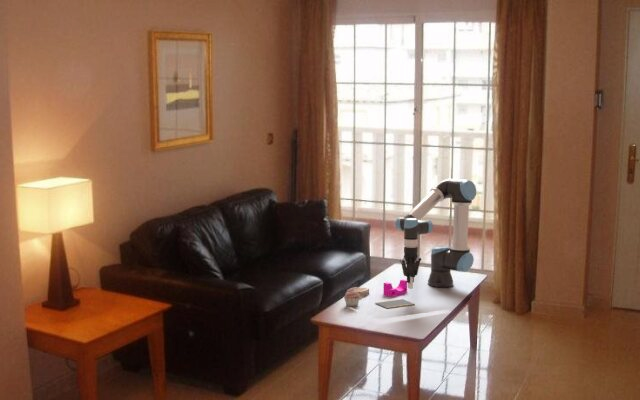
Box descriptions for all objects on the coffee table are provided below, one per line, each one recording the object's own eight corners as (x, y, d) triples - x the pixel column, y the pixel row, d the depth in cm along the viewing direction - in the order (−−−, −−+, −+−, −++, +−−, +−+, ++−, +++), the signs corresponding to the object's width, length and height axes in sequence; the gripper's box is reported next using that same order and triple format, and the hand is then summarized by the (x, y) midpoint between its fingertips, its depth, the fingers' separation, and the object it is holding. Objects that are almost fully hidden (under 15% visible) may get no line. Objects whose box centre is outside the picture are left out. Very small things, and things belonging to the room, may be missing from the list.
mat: (402, 300, 440) (402, 299, 440) (414, 304, 429) (414, 303, 429) (375, 303, 431) (375, 302, 431) (386, 308, 421) (386, 307, 421)
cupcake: (357, 308, 422) (357, 290, 421) (341, 306, 425) (341, 288, 424) (362, 304, 431) (362, 286, 430) (346, 302, 434) (346, 285, 433)
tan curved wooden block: (346, 290, 448) (360, 291, 443) (355, 286, 456) (369, 288, 451) (346, 297, 448) (360, 299, 443) (355, 293, 457) (369, 295, 452)
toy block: (390, 297, 447) (390, 284, 446) (383, 295, 452) (383, 282, 451) (409, 293, 456) (410, 281, 455) (402, 291, 461) (402, 279, 460)
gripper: (416, 244, 437) (416, 285, 440) (397, 246, 431) (396, 288, 434) (424, 246, 431) (423, 288, 433) (404, 248, 425) (404, 290, 428)
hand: (410, 288), depth 434 cm, fingers closed
